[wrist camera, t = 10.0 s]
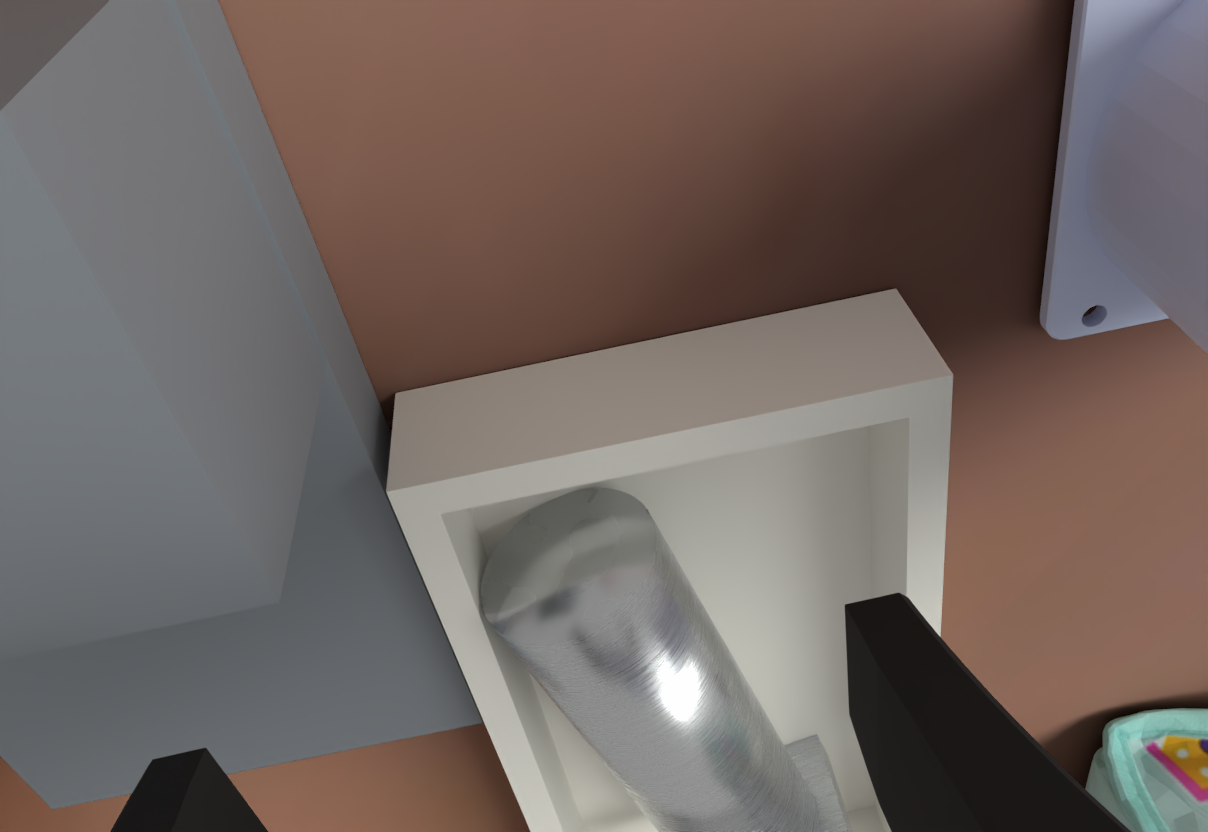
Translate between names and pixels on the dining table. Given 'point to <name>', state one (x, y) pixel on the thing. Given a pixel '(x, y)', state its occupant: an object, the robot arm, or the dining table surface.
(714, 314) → the dining table surface
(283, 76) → the dining table surface
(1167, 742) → the lunch bag
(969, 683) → the robot arm
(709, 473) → the tray
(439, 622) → the hitch block
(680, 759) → the grey rounded bar
